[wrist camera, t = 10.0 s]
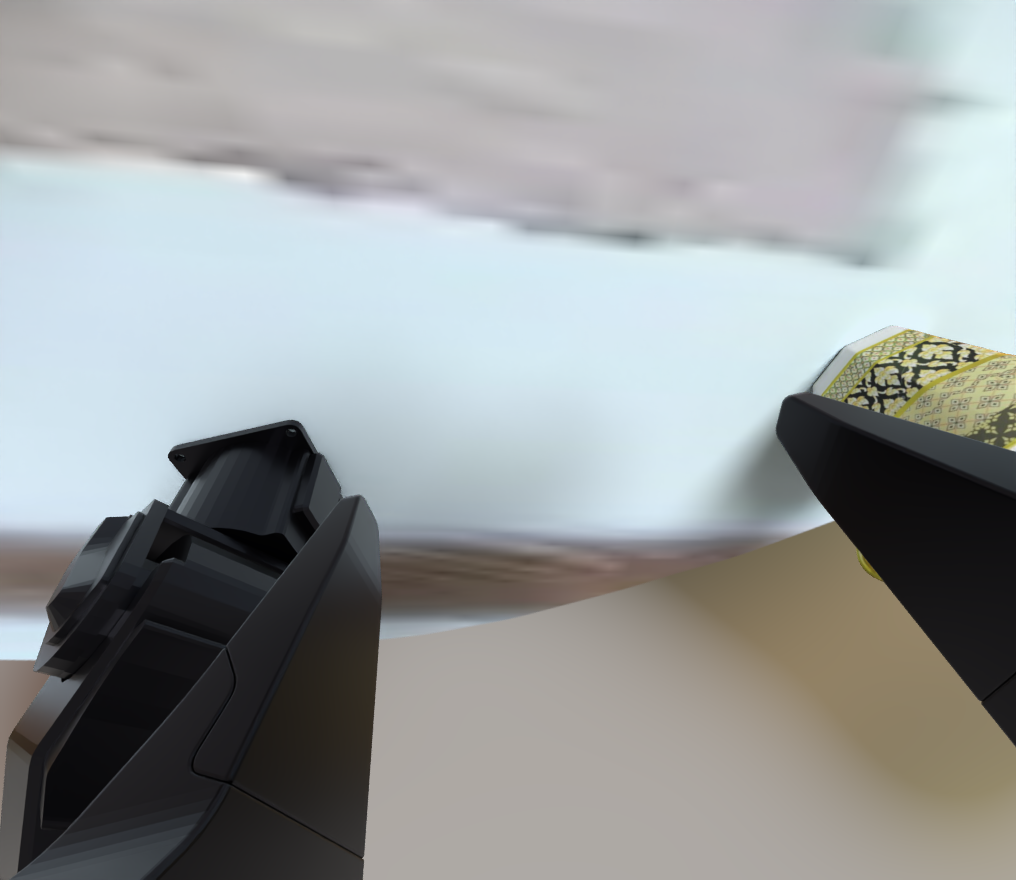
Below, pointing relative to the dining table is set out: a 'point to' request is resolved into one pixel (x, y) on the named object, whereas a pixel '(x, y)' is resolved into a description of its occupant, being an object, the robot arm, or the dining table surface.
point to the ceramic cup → (927, 386)
